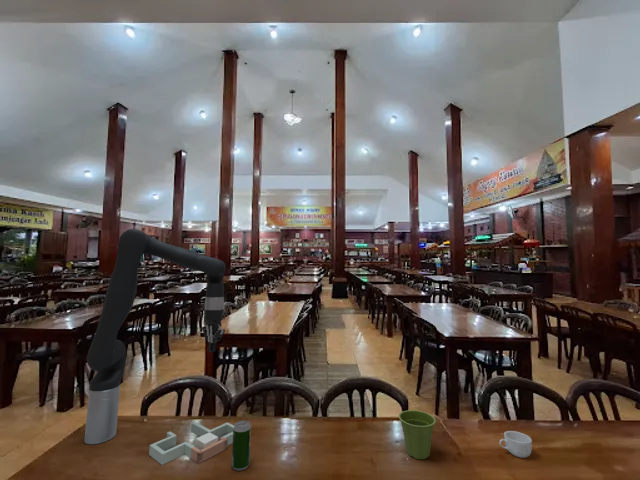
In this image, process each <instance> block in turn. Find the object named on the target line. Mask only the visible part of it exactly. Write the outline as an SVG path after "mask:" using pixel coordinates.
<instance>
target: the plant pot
mask: <svg viewBox="0 0 640 480" xmlns="http://www.w3.org/2000/svg"><path fill="white" fill-rule="evenodd" d="M398 418H399V420H400V425H401V427H402V433H403V437H404V443H405V448H406V454H408V455H409V456H410V457H413V458H414V459H417V460H427V459H428V458H429V457H430V455H431V447H432V444H431V443H432V437H433V431H434V425H435V424H436V421H437V420H436V418H435V417H434V416H433V415H431V414H430V413H428V412H424V411H423V410H415V409H414V410H413V409H410V410H407V409H406V410H404V411H401V412H400V413H398Z"/></svg>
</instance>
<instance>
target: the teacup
mask: <svg viewBox="0 0 640 480" xmlns="http://www.w3.org/2000/svg"><path fill="white" fill-rule="evenodd" d="M503 436H504V437H503V438H502V439H499V441H498V442H499V446H500V447H502V448H503V449H505V450H508V452H509V453H510V454H512V455H513V456H515V457H516V458H522V459H525V458H528V457H529V456H530V455H531V453H532V449H533V448H532V445H533V441H532V440H533V439H532V438H531V437H530V436H529V435H527V434H525V433H522V432H519V431H515V430H507V431H504V433H503ZM502 442H504V445H505V446H504V445H502Z"/></svg>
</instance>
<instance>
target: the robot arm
mask: <svg viewBox="0 0 640 480" xmlns="http://www.w3.org/2000/svg"><path fill="white" fill-rule="evenodd" d="M117 245H118V246H117V254H116V258H115V259H116V260H115V265H114V269H113V271H112V274H111V276H110V280H109V282H108V286H107V289H106V292H105V293H106V294H105V297H104V300H103V305H102V309H101V312H100V316H99V320H98V324H97V326H96V327H97V328H96V331H95V333H94V336H93V338H92V340H91V344H90V346H89V349H88V352H87V355H86V362H87V365H88V368H89V369H91V370H92V371H97V373H96V374H95V375H94V376H93V378H92V379H90V382H89V388H88V399H87V400H88V401H87V409H86V417H85V418H86V420H85V432H84V439H83V442H84V443H85V444H86V445H98V444H101V443H105V442H107V441H108V442H109V440H111V439H113V438H114V437H115V436H116V435H117V427H118V419H119V418H118V414H119V403H120V402H119V401H120V393H121V392H120V391H121V383H122V382H121V381H122V378H123V377H124V373H125V366H126V357H127V349H126V345H125V343H124V342H123V341H122V340H120V339H117V337H118V333H119V331H120V328H121V327H122V325H123V323H124V322H125V320H126V319H127V317H128V316H129V314H130V312H131V310H132V308H133V306H134V303H135V299H136V296H137V290H138V274H139V273H138V270H139V265H140V262H141V260H142V256H143V255H147V256H148V255H149V256H152V257H156V258H160V259H162V260H165V261H167V262H170V263H172V264H175V265H176V266H177V265H178V266H180V267H183V268H187V269H191V270H193V271H199V272H202V273H205V274H206V290H205V299H204V300H205V301H204V313H203V320H204V321H206V322H205V325H204V326H202V327H201V330H202V333H203V336H204V338H205V341H207V342H208V352H210V353H214V352H216V349H217V342H219V341H221V339H222V337H223V335H224V334H225V332H226V330H225V328H224V329H223V328H222V320H223V319H224V312H225V308H224V307H225V298H224V297H225V295H224V294H225V284H224V274H225V272H226V269H227V266H226V263H225V262H224V261H223V260H221V259H219V258H215V257H211V256H207V255H204V254H202V253H199V252H196V251H193V250H190V249H187V248H184V247H180V246H178V245H173V244H169V243H166V242H164V241H161V240H158V239H156V238H154V237H152V236H150V235H148V234H147V233H146V232H145V231H142V230H141V229H138V228H131V229H127V230H125V231H123V232H122V233H121V235H120V237H119V239H118V244H117Z"/></svg>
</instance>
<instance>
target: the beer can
mask: <svg viewBox="0 0 640 480" xmlns="http://www.w3.org/2000/svg"><path fill="white" fill-rule="evenodd" d="M233 425H234V428H233V443H232V445H231V446H232V447H231V448H232V449H231V451H232V452H231V467H232V469H233V471H238V472H239V471H241V472H242V471H244V470H246V469H248V467H249V465H250V462H251V434H252V426H251V422H250V421H249V420H239V421H236V422H235V423H234V424H233Z"/></svg>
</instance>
